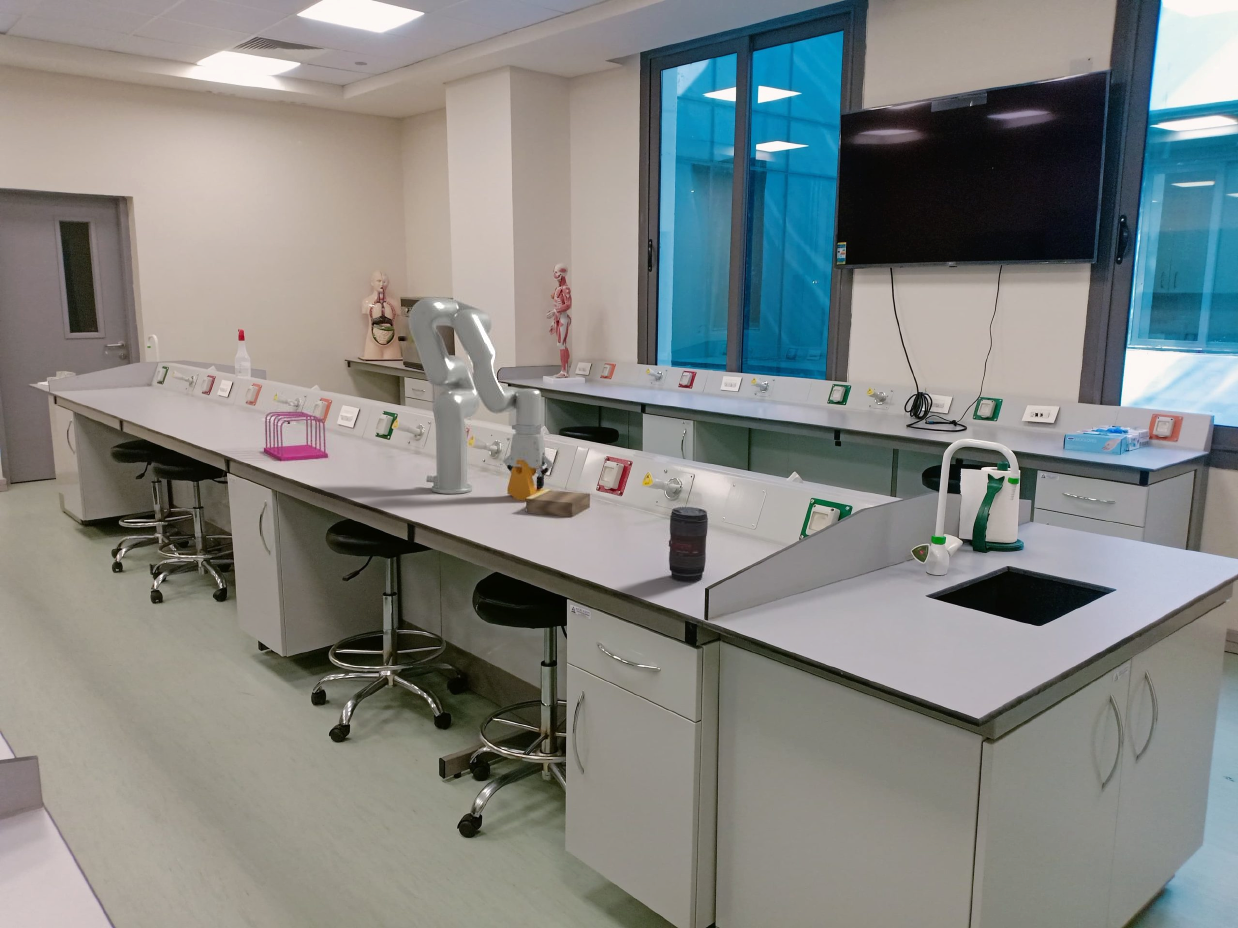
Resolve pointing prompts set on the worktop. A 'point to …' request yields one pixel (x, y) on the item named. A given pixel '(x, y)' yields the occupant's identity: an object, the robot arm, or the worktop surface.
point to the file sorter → (297, 450)
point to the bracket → (522, 482)
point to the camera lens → (687, 543)
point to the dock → (557, 503)
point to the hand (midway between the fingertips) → (528, 487)
